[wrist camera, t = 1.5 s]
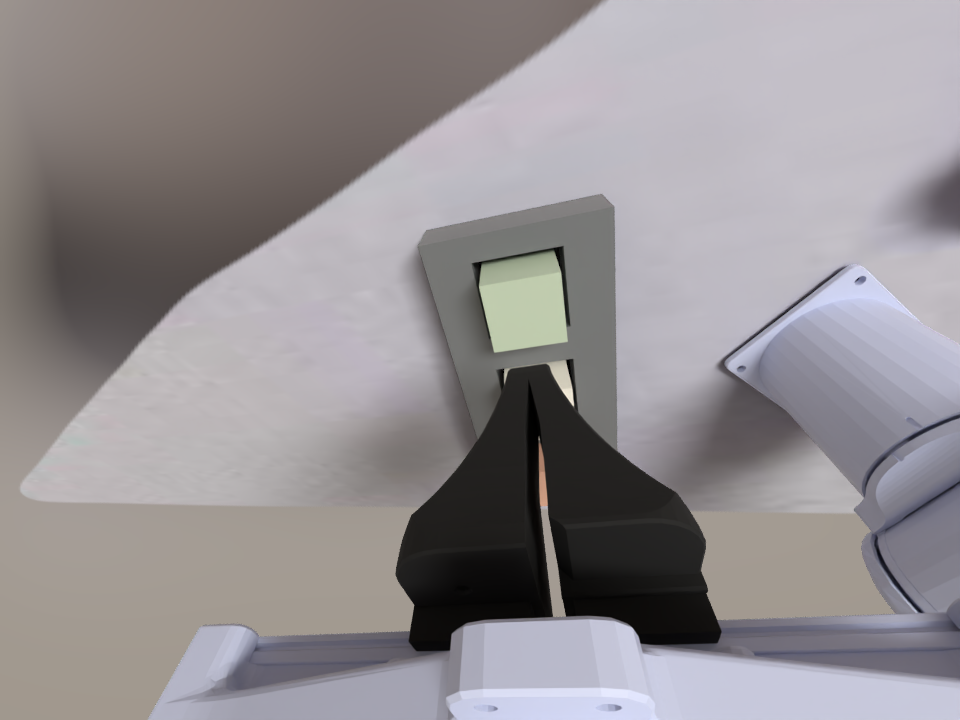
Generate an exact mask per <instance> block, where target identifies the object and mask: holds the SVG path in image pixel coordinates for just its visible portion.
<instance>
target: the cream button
mask: <svg viewBox="0 0 960 720" xmlns="http://www.w3.org/2000/svg"><path fill="white" fill-rule="evenodd" d="M540 364H547V365H549V366H550V369H551V372H552V374H553V376H554V378H555V380H556V382H557V383H558V385H559V387H560V388H561V390H562V391H563V393H564V394H565V396H566V397H567V398H568V400H569V401H570V403H571V404H572V405H573V406H574V401H573V391H572V385H571V381H570V376H569V372H568V368H567V364H566V360H561V361H554V362H547V363H540ZM533 365H539V364H533ZM526 366H532V365H526ZM519 367H525V366H519ZM519 367H512V368H519ZM512 368H505V369H504V384H505V381H506V377H507V373H508V371H509V370H510V369H512ZM539 440H540V439H539Z"/></svg>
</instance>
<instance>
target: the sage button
mask: <svg viewBox="0 0 960 720" xmlns="http://www.w3.org/2000/svg"><path fill="white" fill-rule="evenodd" d="M479 289H480V293H481V297H482V302H483V306H484V310H485V315H486V319H487V323H488V328H489V332H490V336H491V341H492V345H493V349H494V353H496V352H503V351H509V350H516V349H523V348H529V347H536V346H543V345H549V344H556V343H563V342H568V339H567V329H566V318H565V308H564V298H563V287H562V277H561V270H560V267H559V264H558V261H557V258H556V255H555V252H554V249H547V250H542V251H537V252H532V253H526V254H521V255H516V256H510V257H505V258H500V259H495V260H489V261H484V262H482V265H481V274H480V283H479Z"/></svg>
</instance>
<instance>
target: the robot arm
mask: <svg viewBox="0 0 960 720" xmlns="http://www.w3.org/2000/svg"><path fill="white" fill-rule="evenodd" d="M859 277H860V278H859ZM857 278H859V279H858V280H857V281H856V282H855V280H856V279H857ZM725 366H726V368H727V369H728V370H729V371H730V372H732V373H733V374H735V375H736V376H738V377H739V378H740V379H742V380H743V381H745V382H746V383H748V384H749V385H750V386H752V387H753V388H755V389H756V390H757V391H759V392H760V393H762V394H763V395H765V396H766V397H767V398H769V399H770V400H772V401H773V402H775V403H776V404H777V405H779V406H780V407H782V408H783V409H785V410H786V411H787V412H788V413H789V414H790V415H791V417H792V418H793V419H794V420H795V421H796V422H797V423H798V424H799V426H800V427H801V428H802V429H803V430H804V431H805V432H806V433H807V434H808V436H809V437H810V438H811V439H812V440H813V441H814V442H815V443H816V445H817V446H818V447H819V448H820V449H821V450H822V451H823V452H824V454H825V455H826V456H827V457H828V458H829V459H830V460H831V461H832V463H833V464H834V465H835V466H836V467H837V468H838V469H839V470H840V472H841V473H842V474H843V475H844V476H845V477H846V478H847V479H848V481H849V482H850V483H851V484H852V485H853V486H854V487H855V488H856V489H857V491H858V492H859V493H860V494H861V495H862V496H863V497H864V499H863V500H862V502H861V503H860V504H859V505H858V506H856V507H855V508H854V511H855V512H856V513H857V515H858V516H859V517H860V518H861V519H862V521H863V522H864V523H865V524H866V525H867V526H868V527H869V529H870V530H871V532H870V533H868V534H867V535H866V536H865V538H864V539H863V541H862V546H861V549H862V555H863V559H864V561H865V564H866V567H867V569H868V571H869V573H870V575H871V578H872V580H873V582H874V584H875V586H876V587H877V589H878V591H879V592H880V594H881V595H882V597H883V598H884V599H885V601H886V602H887V604H888V605H889V606H890V607H891V609H892V610H893V611H894V612H895V613H896V614H881V615H852V616H825V617H796V618H772V619H771V618H769V619H742V620H717V619H716V616H715V614H714V611H713V609H712V606H711V604H710V602H709V599H708V597H707V594H706V593H707V592H708V588H707V585H706V582H705V580H704V577H703V575H702V572H701V567H702V562H703V558H704V554H705V550H706V540H705V538H704V536H703V533H702V531H701V529H700V527H699V525H698V524H697V522H696V521H695V519H694V517H693V515H692V514H691V512H690V511H689V509H688V508H687V506H686V505H685V504H684V502H683V501H682V499H681V498H680V497H679V495H678V494H677V493H676V492H674V491H673V490H671V489H669V488H668V487H666V486H664V485H663V484H661V483H660V482H658V481H657V480H655V479H654V478H652V477H650V476H649V475H648V474H646V473H645V472H643V471H642V470H641V469H639V468H638V467H636V466H635V465H634V464H632V463H631V462H630V461H629V460H627V459H626V458H625V457H624V456H622V455H621V454H620V453H619V452H618V451H616V450H615V449H614V448H613V447H611V446H610V445H609V444H608V443H607V442H606V441H605V440H604V439H603V438H602V437H601V436H600V435H599V434H598V433H597V432H596V431H595V430H594V429H593V428H592V427H591V426H590V425H589V424H588V423H587V422H586V421H585V420H584V419H583V417H582V416H581V415H580V414H579V413H578V411H577V410H576V409H575V408H574V406H573V405H572V404H571V403H570V401H569V400H568V398H567V397H566V396H565V394H564V393H563V391H562V390H561V388H560V387H559V385H558V383H557V382H556V380H555V378H554V376H553V374H552V372H551V369H550V366H549V365H547V364H539V365H532V366H525V367H519V368H512V369H510V370H509V371H508V373H507V377H506V381H505V384H504V387H503V390H502V392H501V395H500V397H499V400H498V402H497V404H496V407H495V409H494V411H493V413H492V415H491V417H490V419H489V421H488V423H487V425H486V427H485V429H484V430H483V432H482V434H481V436H480V437H479V439H478V440H477V442H476V443H475V445H474V447H473V448H472V450H471V451H470V452H469V454H468V455H467V456H466V458H465V459H464V461H463V462H462V463H461V465H460V466H459V467H458V468H457V470H456V471H455V472H454V473H453V474H452V475H451V477H450V478H449V479H448V480H447V481H446V482H445V483H444V484H443V485H442V487H441V488H440V489H439V490H438V491H437V492H436V493H435V494H434V495H433V496H432V497H431V498H430V499H429V500H428V501H427V502H426V503H424V504H423V505H422V506H421V507H420V508H419V509H418V510H417V511H416V512H415V513H413V514H412V515H411V518H410V520H409V523H408V525H407V528H406V531H405V534H404V537H403V540H402V544H401V548H400V552H399V557H398V562H397V567H396V577H397V580H398V582H399V583H400V585H401V586H402V588H403V589H404V590H405V592H406V594H407V595H408V596H409V598H410V599H411V601H412V602H413V604H414V611H413V617H412V623H411V629H410V631H408V632H407V631H404V632H378V633H377V632H376V633H349V634H323V635H322V634H320V635H292V636H264V637H259V635H258V634H257V633H256V632H255V631H254V630H253V629H252V628H250V627H248V626H245V625H241V624H217V625H203V626H201V627H199V629H198V631H197V633H196V634H195V636H194V638H193V640H192V642H191V643H190V645H189V647H188V649H187V651H186V652H185V654H184V656H183V658H182V659H181V661H180V663H179V665H178V667H177V668H176V670H175V672H174V674H173V675H172V677H171V679H170V681H169V683H168V684H167V686H166V688H165V690H164V692H163V693H162V695H161V697H160V699H159V700H158V702H157V704H156V706H155V707H154V709H153V711H152V713H151V715H150V717H149V718H148V720H960V344H958V343H957V342H955V341H953V340H951V339H949V338H948V337H946V336H944V335H942V334H940V333H938V332H937V331H935V330H933V329H931V328H929V327H928V326H926V325H924V324H922V323H921V322H920V321H919V320H918V319H917V318H916V317H915V316H914V315H913V314H912V313H911V312H910V311H909V310H908V309H907V308H906V307H905V306H904V305H903V304H902V303H900V302H899V301H898V300H897V299H896V298H895V297H894V296H893V295H892V294H891V293H890V292H889V291H888V290H887V289H886V288H885V287H884V286H883V285H882V284H881V283H880V282H879V281H878V280H877V279H876V278H875V277H874V276H873V275H872V274H870V273H869V272H868V271H867V270H866V269H865V268H864V267H862V266H860V265H858V264H852V265H849V266H847V267H846V268H844V269H843V270H842V271H840V272H839V273H838V274H836V275H835V276H834V277H832V278H831V279H830V280H829V281H827V282H826V283H825V284H823V285H822V286H821V287H819V288H818V289H817V290H816V291H814V292H813V293H812V294H810V295H809V296H808V297H807V298H805V299H804V300H803V301H801V302H800V303H799V304H797V305H796V306H795V307H794V308H792V309H791V310H790V311H788V312H787V313H786V314H784V315H783V316H782V317H781V318H779V319H778V320H777V321H775V322H774V323H773V324H772V325H770V326H769V327H768V328H766V329H765V330H764V331H762V332H761V333H760V334H759V335H757V336H756V337H755V338H753V339H752V340H751V341H750V342H748V343H747V344H746V345H744V346H743V347H742V348H740V349H739V350H738V351H737V352H735V353H734V354H733V355H731V356H730V357H729V358H728V359H727V360H726V361H725ZM739 366H741V367H740V368H738V367H739ZM539 439H540V443H541V448H542V452H543V457H544V467H545V478H546V489H547V502H548V515H549V521H550V526H551V532H552V537H553V542H554V548H555V552H556V558H557V563H558V570H559V577H560V586H561V594H562V599H563V603H564V608H565V613H566V617H553V614H552V606H551V597H550V589H549V580H548V571H547V562H546V553H545V544H544V535H543V527H542V518H541V508H540V493H539Z"/></svg>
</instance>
